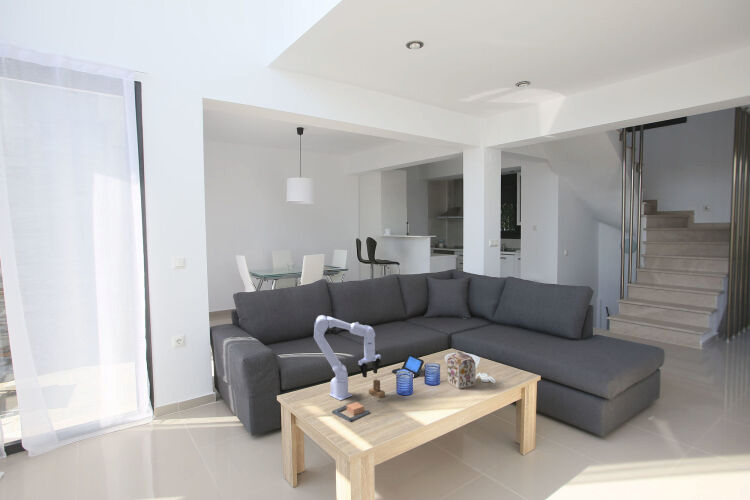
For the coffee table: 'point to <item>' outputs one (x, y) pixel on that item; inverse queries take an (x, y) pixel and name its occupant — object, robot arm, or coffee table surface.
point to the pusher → (376, 389)
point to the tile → (355, 408)
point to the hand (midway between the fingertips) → (369, 375)
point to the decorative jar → (461, 370)
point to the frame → (337, 412)
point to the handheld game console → (411, 365)
